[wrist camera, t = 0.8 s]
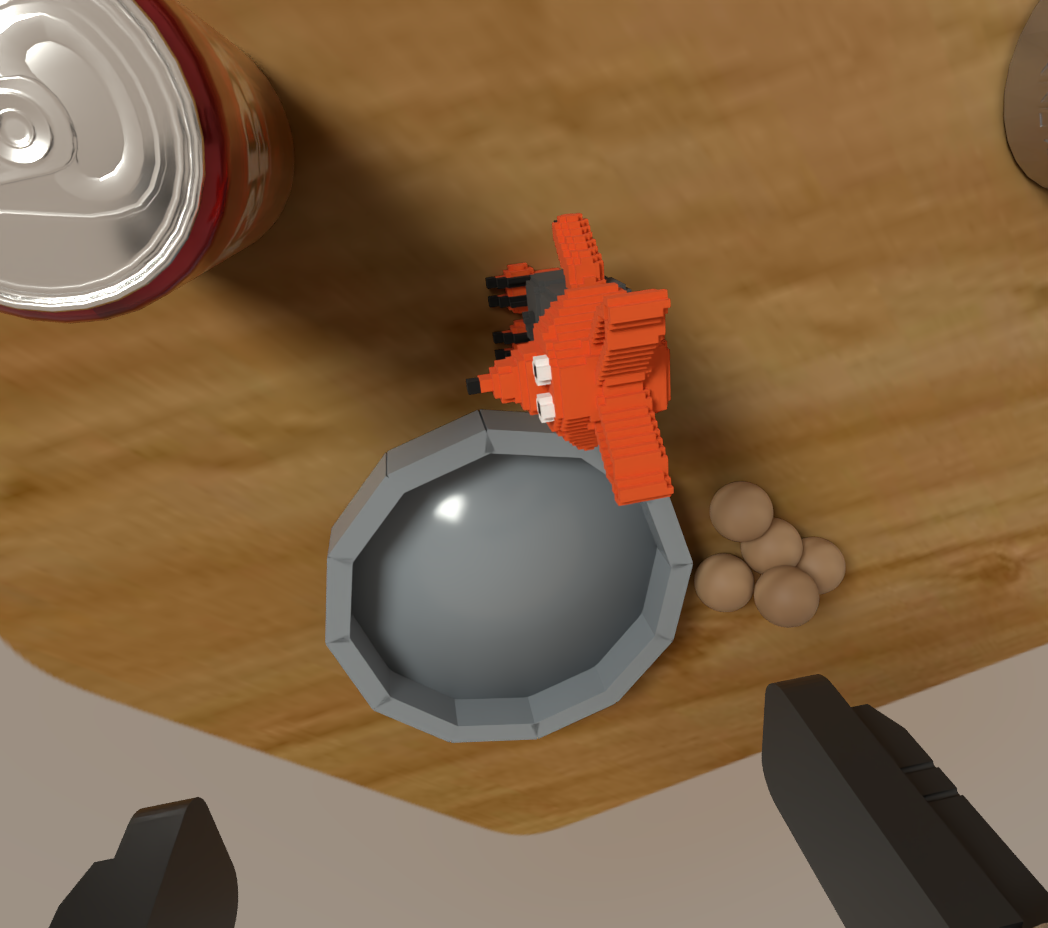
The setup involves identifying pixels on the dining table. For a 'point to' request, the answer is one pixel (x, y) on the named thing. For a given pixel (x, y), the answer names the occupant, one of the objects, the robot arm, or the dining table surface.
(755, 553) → the bead pile
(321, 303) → the dining table surface
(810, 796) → the robot arm
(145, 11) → the soda can
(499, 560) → the dish
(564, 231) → the toy animal
